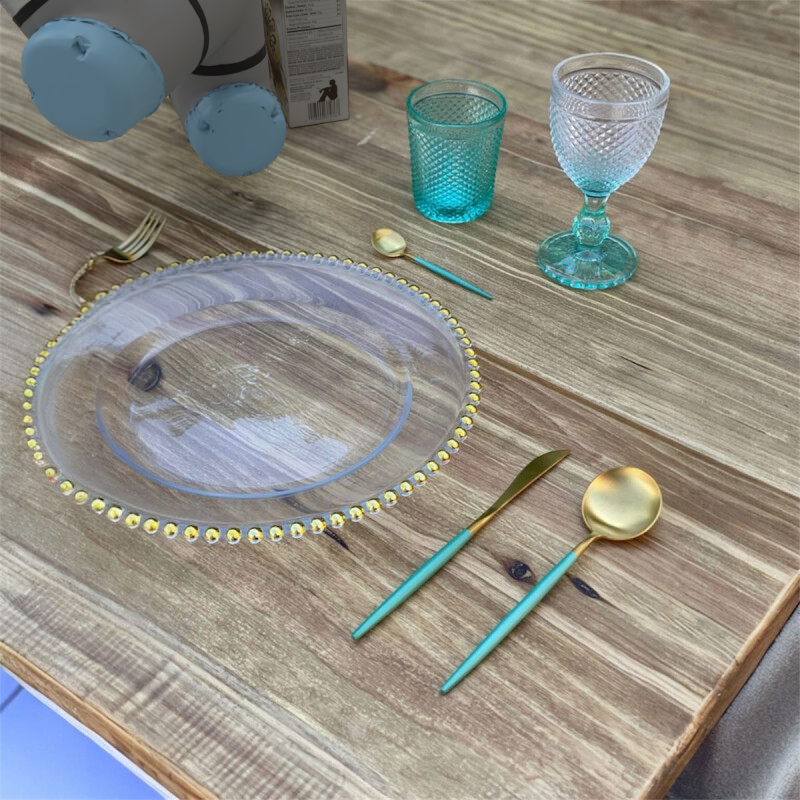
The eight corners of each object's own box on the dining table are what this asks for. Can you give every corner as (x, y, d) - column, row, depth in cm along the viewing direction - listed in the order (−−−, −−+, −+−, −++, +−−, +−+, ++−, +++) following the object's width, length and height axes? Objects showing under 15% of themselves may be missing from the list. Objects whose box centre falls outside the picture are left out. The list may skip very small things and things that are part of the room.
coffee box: (267, 86, 96) (249, -81, 84) (327, 77, 97) (318, -89, 86) (288, 130, 90) (272, -44, 78) (352, 119, 91) (346, -53, 80)
